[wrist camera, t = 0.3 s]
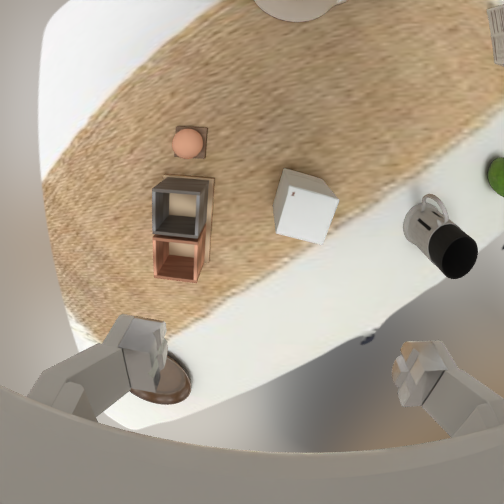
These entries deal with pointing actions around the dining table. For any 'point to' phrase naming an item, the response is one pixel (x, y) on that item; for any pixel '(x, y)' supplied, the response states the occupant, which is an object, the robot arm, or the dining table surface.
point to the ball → (187, 143)
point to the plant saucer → (168, 385)
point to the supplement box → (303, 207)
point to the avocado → (497, 176)
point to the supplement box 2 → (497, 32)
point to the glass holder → (440, 238)
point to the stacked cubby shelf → (181, 226)
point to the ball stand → (203, 134)
